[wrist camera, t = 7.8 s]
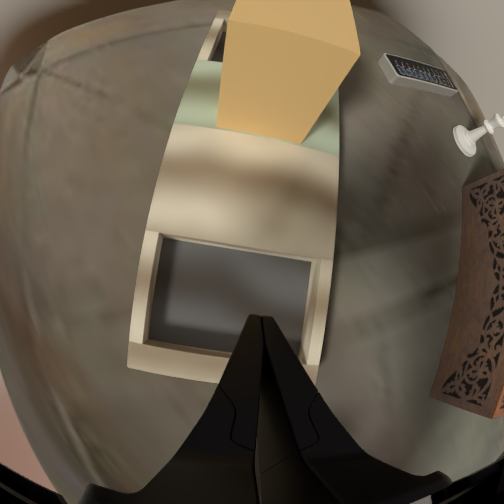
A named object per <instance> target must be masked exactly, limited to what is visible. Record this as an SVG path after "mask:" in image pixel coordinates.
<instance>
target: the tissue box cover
mask: <svg viewBox="0 0 504 504" xmlns="http://www.w3.org/2000/svg"><path fill="white" fill-rule="evenodd" d="M430 397H432V398H435V399H437V400H440V401H443V402H445V403H448V404H451V405H453V406H456V407H459V408H461V409H464V410H467V411H470V412H473V413H476V414H478V415H481V416H484V417H487V418H490V419H494V418H498V417H502V416H504V169H502V170H500V171H497V172H495V173H493V174H491V175H488V176H486V177H484V178H482V179H480V180H477V181H475V182H473V183H471V184H468V185H466V186H464V187H462V236H461V250H460V261H459V271H458V279H457V286H456V293H455V299H454V305H453V310H452V315H451V320H450V325H449V330H448V334H447V338H446V342H445V346H444V350H443V354H442V358H441V361H440V365H439V368H438V371H437V375H436V378H435V381H434V384H433V387H432V390H431V393H430Z"/></svg>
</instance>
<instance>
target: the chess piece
mask: <svg viewBox="0 0 504 504" xmlns="http://www.w3.org/2000/svg"><path fill="white" fill-rule="evenodd" d="M503 120H504V116H503V117H501V116H500V115H499V114H498V113H496V114H495V115H494V117H493V118H492V119H491V121H490V122H489V121H488V120H484V124H485V125H484V126H481V127H479V128H476V129H474V130H471V131H469V130H467V129H466V128H465V127H463V126H461V125H458V126H455V127H454V128H453V136H454V139H455V141H456V144H457V145H458V147H459V149H460V150H461V151H462V152H463V153H464V154H465V155H466V156H468V157H472V156H473V155H474V154H475V153H476V145H475V143H476V142H475V141H476V140H478V139H479V138H480V137H481V136H482V135H484V134H485V133H486V132H488V131H489V133H491V134H493V133H494V128H502V127H504V121H503Z"/></svg>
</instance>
